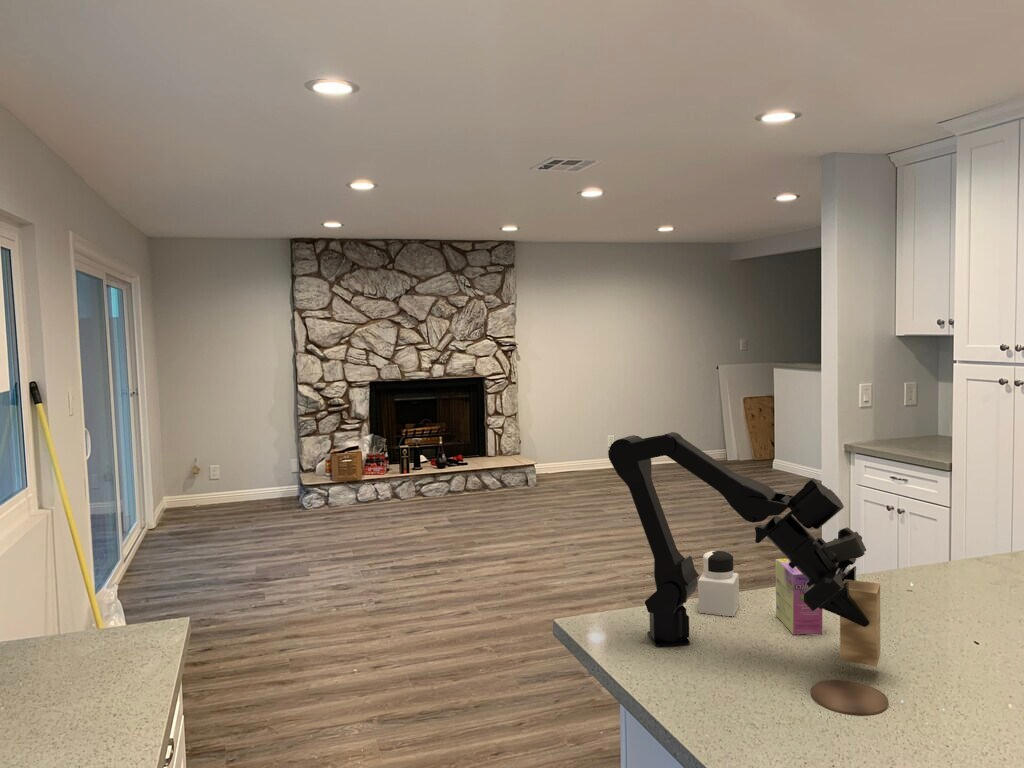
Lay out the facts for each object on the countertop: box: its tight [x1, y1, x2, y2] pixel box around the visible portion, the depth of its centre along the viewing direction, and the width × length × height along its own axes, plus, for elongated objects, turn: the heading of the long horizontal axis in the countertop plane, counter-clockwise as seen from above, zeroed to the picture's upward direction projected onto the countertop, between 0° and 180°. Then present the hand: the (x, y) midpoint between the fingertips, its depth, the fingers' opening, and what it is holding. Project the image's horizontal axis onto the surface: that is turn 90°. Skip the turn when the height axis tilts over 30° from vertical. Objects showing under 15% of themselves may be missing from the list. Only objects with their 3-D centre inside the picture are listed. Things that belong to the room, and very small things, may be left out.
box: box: [775, 558, 823, 636], centre depth 150 cm, size 10×6×12 cm, turn 179°
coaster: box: [810, 679, 889, 716], centre depth 119 cm, size 11×11×1 cm
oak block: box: [839, 579, 882, 667], centre depth 127 cm, size 6×6×12 cm
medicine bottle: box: [697, 550, 740, 618], centre depth 160 cm, size 7×7×12 cm
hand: (869, 619), depth 127 cm, fingers closed on oak block, 5 cm apart
